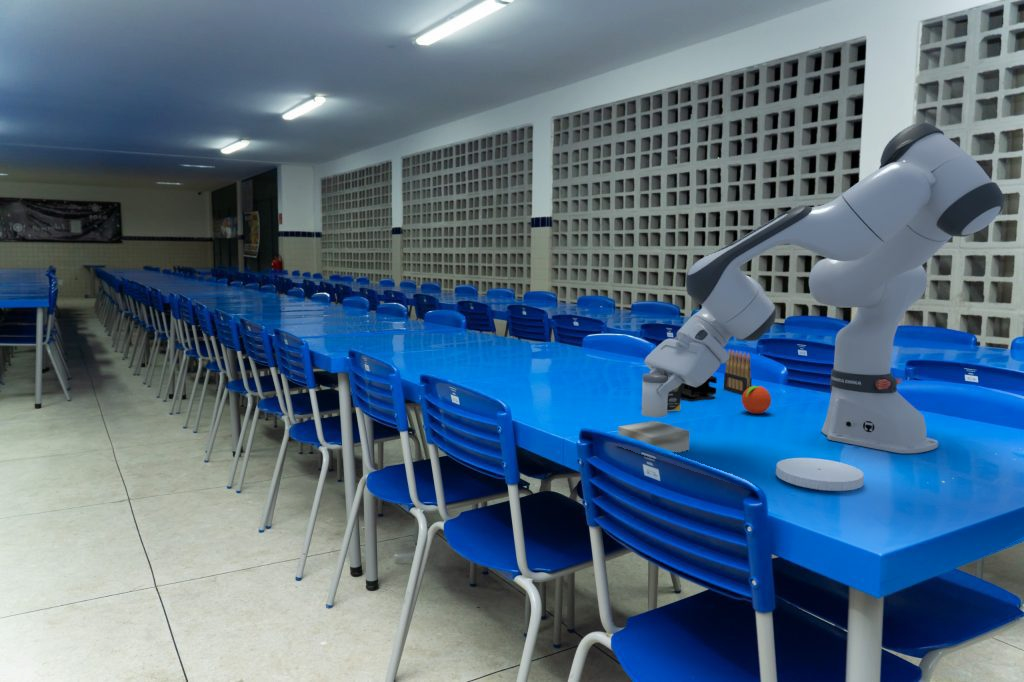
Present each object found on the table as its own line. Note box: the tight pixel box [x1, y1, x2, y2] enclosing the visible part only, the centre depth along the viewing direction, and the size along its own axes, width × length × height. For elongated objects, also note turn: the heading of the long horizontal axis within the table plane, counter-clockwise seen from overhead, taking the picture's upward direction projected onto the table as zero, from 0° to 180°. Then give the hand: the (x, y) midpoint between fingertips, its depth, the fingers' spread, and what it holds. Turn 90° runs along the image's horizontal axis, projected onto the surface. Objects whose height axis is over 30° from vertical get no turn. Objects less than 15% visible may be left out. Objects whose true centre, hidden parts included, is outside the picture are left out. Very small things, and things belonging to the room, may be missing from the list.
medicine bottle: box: [649, 369, 682, 412], centre depth 184 cm, size 7×7×12 cm
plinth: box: [617, 420, 690, 454], centre depth 147 cm, size 10×10×4 cm
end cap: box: [681, 375, 718, 402], centre depth 198 cm, size 10×7×7 cm
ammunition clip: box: [723, 348, 753, 396], centre depth 206 cm, size 11×2×12 cm, turn 18°
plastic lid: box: [775, 457, 865, 492], centre depth 126 cm, size 14×14×2 cm
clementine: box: [741, 384, 772, 415], centre depth 179 cm, size 8×7×7 cm
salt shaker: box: [641, 372, 668, 418], centre depth 145 cm, size 5×5×8 cm
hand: (652, 391), depth 145 cm, fingers closed on salt shaker, 5 cm apart
